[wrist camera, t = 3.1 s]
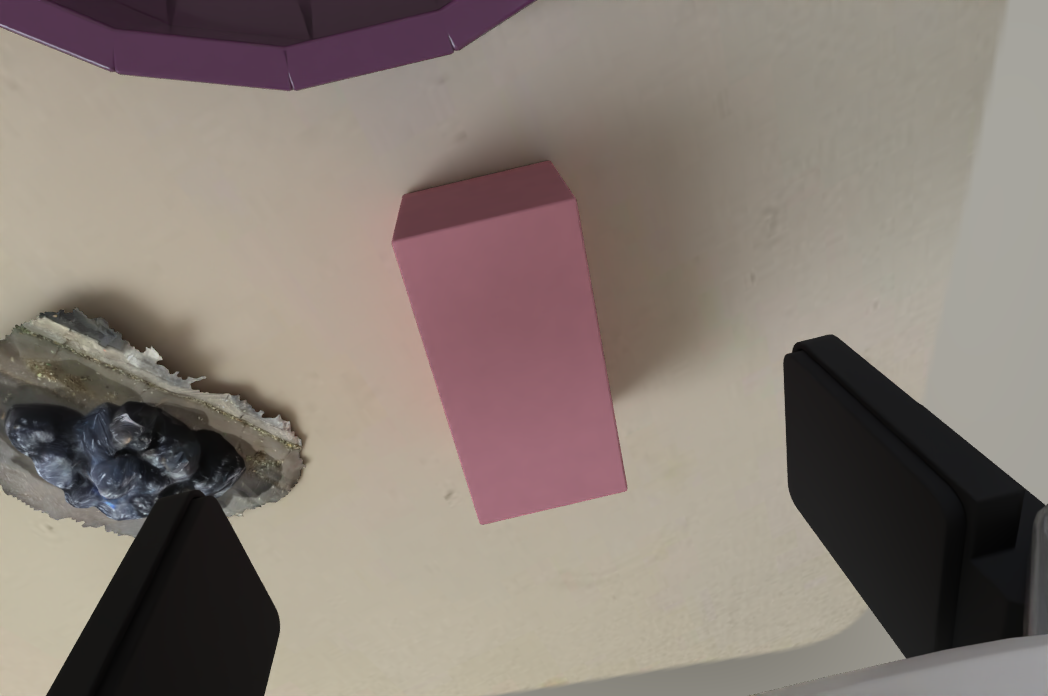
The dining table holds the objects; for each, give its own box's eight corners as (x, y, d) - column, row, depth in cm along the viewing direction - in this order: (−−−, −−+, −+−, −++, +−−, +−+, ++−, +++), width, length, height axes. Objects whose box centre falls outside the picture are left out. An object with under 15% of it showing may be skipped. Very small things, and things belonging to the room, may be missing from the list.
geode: (-26, 272, 15) (-84, 305, 14) (330, 353, 17) (318, 391, 16) (-22, 503, 18) (-70, 554, 16) (286, 553, 20) (271, 604, 18)
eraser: (401, 194, 16) (390, 240, 12) (550, 159, 16) (576, 197, 12) (474, 440, 19) (480, 526, 16) (598, 411, 19) (628, 491, 16)
